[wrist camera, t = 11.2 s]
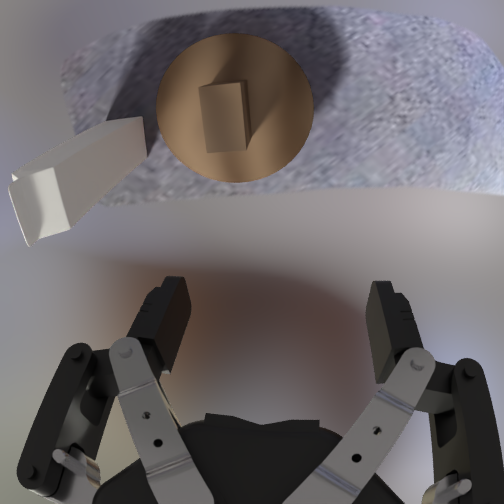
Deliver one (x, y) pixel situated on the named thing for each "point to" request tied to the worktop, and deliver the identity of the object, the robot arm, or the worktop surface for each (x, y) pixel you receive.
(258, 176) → the lid
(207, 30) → the worktop surface
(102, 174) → the milk
